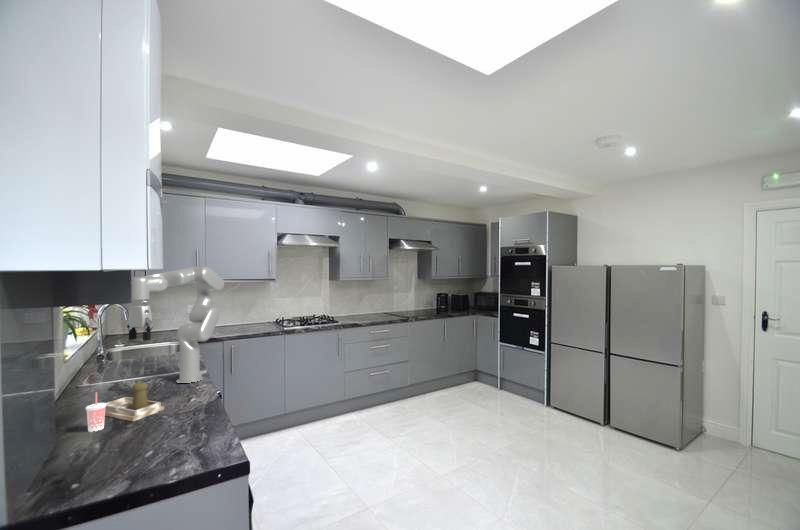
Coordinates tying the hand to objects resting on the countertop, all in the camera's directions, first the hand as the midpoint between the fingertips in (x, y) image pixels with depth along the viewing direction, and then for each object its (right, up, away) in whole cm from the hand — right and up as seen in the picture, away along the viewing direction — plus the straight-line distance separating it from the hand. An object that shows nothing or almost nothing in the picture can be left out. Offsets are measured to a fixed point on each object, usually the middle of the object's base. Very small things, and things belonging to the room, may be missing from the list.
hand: (139, 339), depth 168 cm
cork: (+12, -26, -17) cm, 33 cm away
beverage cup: (+7, -28, -32) cm, 43 cm away
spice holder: (+7, -28, -15) cm, 32 cm away
